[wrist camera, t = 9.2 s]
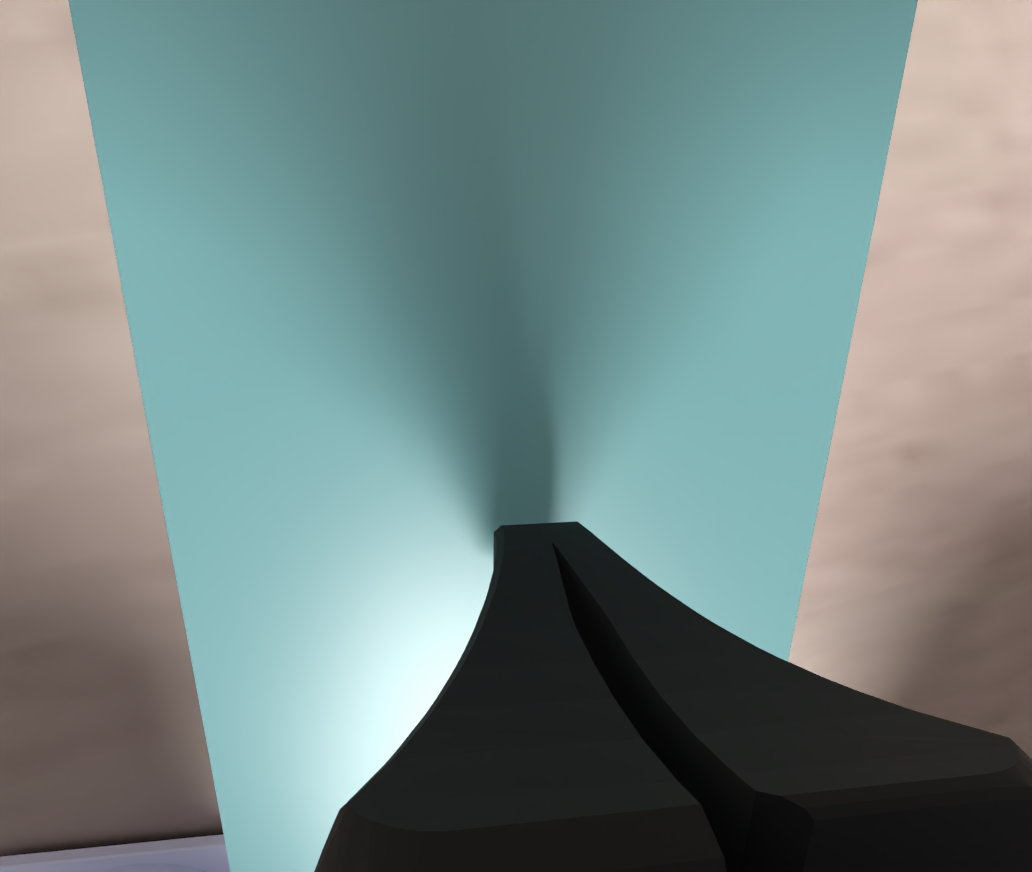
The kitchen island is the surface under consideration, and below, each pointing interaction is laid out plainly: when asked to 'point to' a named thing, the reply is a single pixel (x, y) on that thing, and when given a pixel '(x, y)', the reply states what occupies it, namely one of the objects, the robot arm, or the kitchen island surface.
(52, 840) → the kitchen island surface
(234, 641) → the panel
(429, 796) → the robot arm
